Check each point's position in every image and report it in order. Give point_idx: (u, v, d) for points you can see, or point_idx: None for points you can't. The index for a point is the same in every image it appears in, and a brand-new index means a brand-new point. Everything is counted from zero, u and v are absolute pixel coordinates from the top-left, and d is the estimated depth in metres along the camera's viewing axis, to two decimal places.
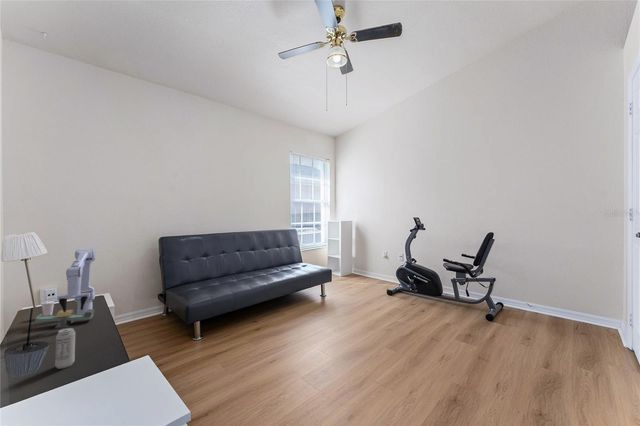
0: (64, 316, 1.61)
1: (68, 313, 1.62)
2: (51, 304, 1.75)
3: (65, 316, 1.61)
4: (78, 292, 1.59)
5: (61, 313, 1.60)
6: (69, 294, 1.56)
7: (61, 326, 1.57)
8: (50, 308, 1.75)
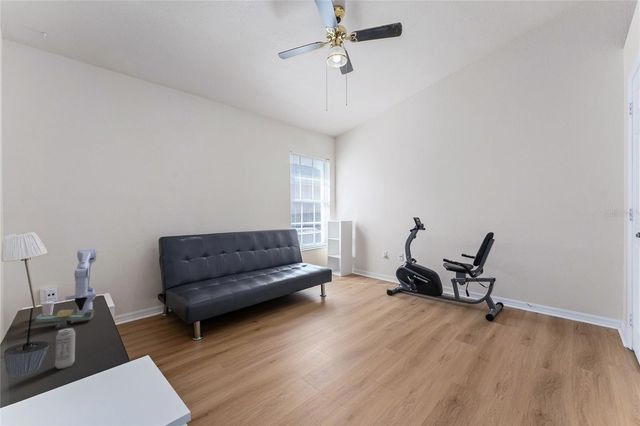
0: (64, 316, 1.61)
1: (68, 313, 1.62)
2: (51, 304, 1.75)
3: (65, 316, 1.61)
4: (85, 292, 1.66)
5: (61, 313, 1.60)
6: (77, 294, 1.64)
7: (61, 326, 1.57)
8: (50, 308, 1.75)
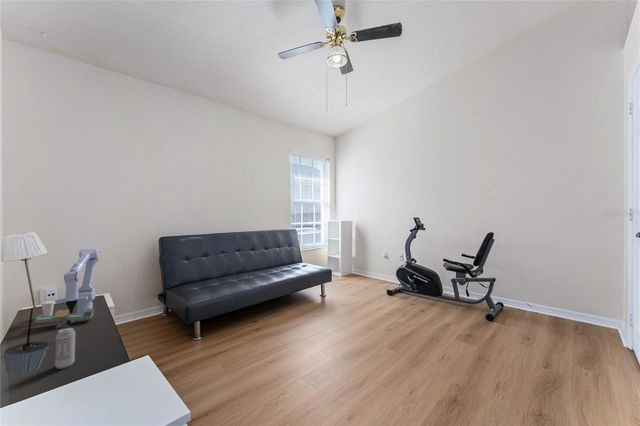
0: (62, 316, 1.60)
1: (66, 313, 1.61)
2: (51, 304, 1.75)
3: (63, 316, 1.60)
4: (76, 295, 1.64)
5: (59, 313, 1.60)
6: (67, 297, 1.62)
7: (61, 326, 1.57)
8: (50, 308, 1.75)
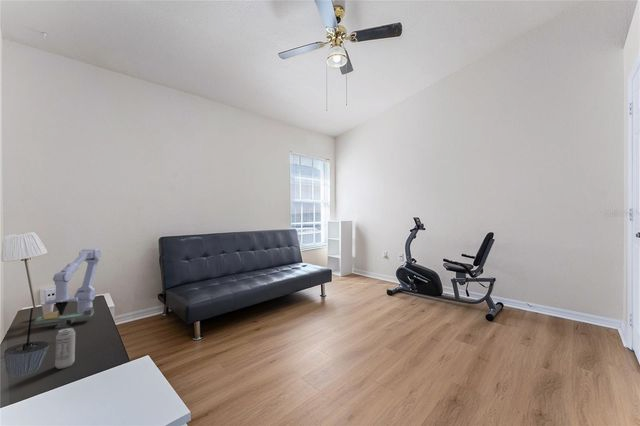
0: (51, 318, 1.58)
1: (55, 314, 1.59)
2: (51, 304, 1.75)
3: (53, 318, 1.58)
4: (66, 296, 1.62)
5: (48, 315, 1.57)
6: (57, 299, 1.59)
7: (61, 326, 1.57)
8: (50, 308, 1.75)
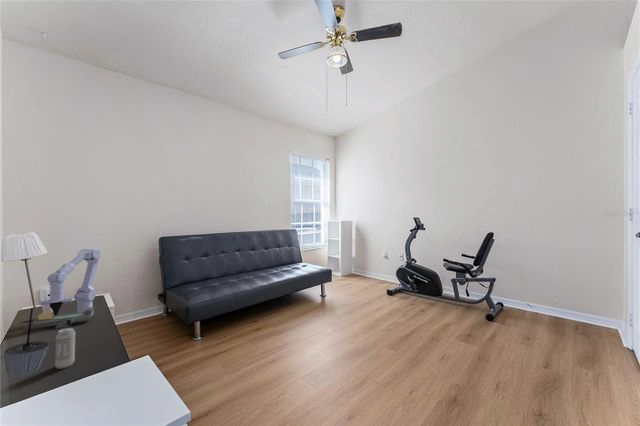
0: (46, 319, 1.57)
1: (50, 315, 1.58)
2: None
3: (47, 318, 1.57)
4: (61, 297, 1.61)
5: (42, 316, 1.56)
6: (51, 299, 1.58)
7: (61, 326, 1.57)
8: (50, 308, 1.75)
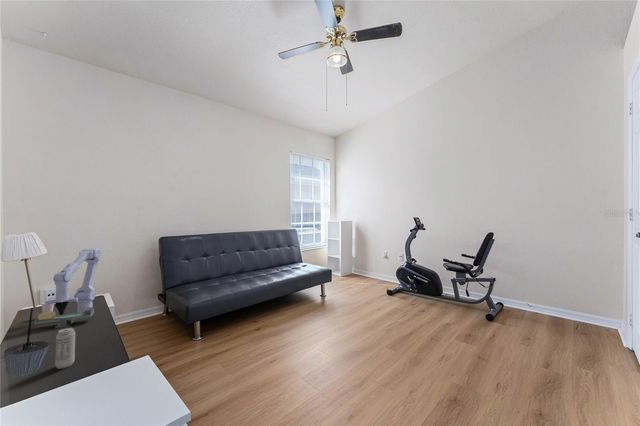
0: (46, 319, 1.57)
1: (50, 315, 1.58)
2: (51, 304, 1.75)
3: (47, 318, 1.57)
4: (66, 297, 1.62)
5: (42, 316, 1.56)
6: (57, 299, 1.59)
7: (61, 326, 1.57)
8: (50, 308, 1.75)
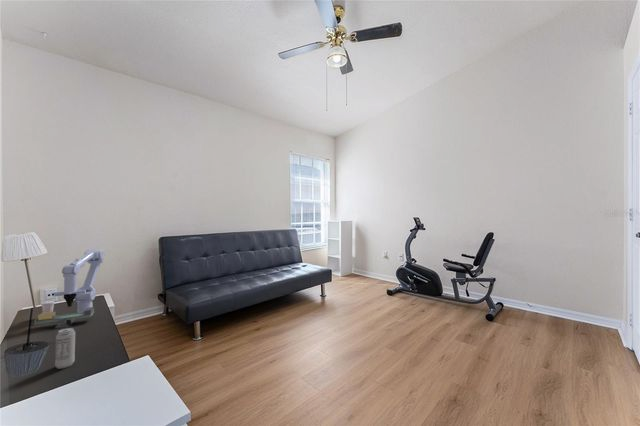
0: (46, 319, 1.57)
1: (50, 315, 1.58)
2: (51, 304, 1.75)
3: (47, 318, 1.57)
4: (74, 289, 1.66)
5: (42, 316, 1.56)
6: (66, 291, 1.64)
7: (61, 326, 1.57)
8: (50, 308, 1.75)
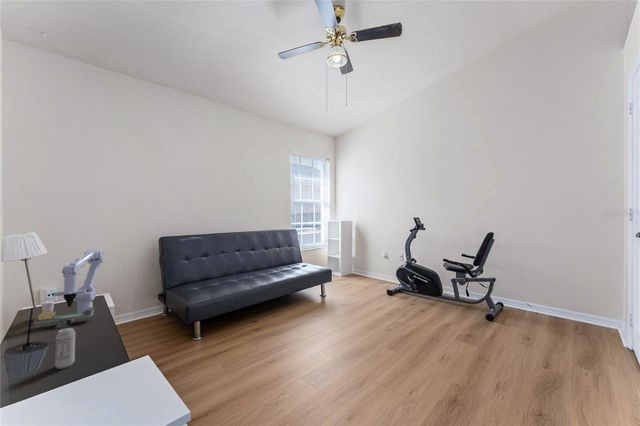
0: (46, 319, 1.57)
1: (50, 315, 1.58)
2: (51, 304, 1.75)
3: (47, 318, 1.57)
4: (74, 289, 1.66)
5: (42, 316, 1.56)
6: (66, 291, 1.64)
7: (61, 326, 1.57)
8: (50, 308, 1.75)
